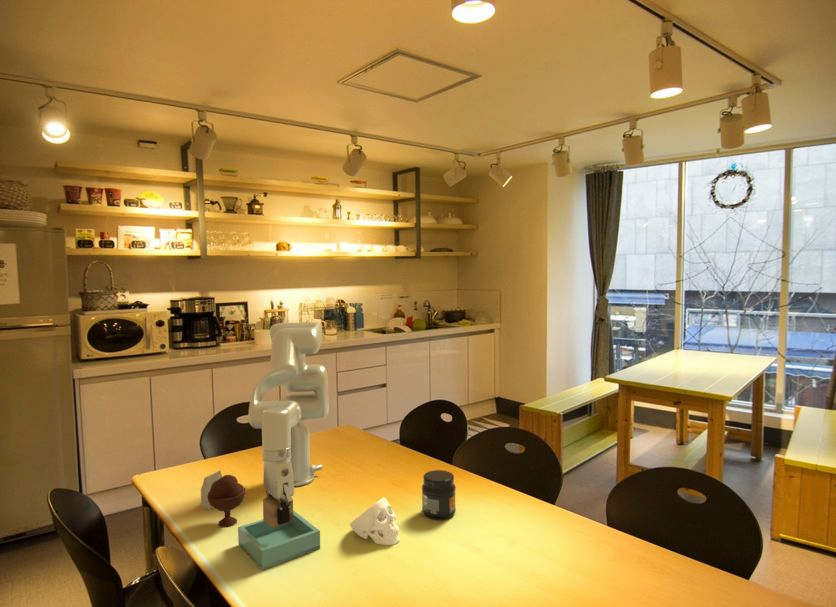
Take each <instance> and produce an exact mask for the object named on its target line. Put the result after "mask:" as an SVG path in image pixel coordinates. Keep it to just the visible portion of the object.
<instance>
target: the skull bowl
mask: <svg viewBox="0 0 836 607" xmlns="http://www.w3.org/2000/svg"><path fill="white" fill-rule="evenodd" d="M392 508H393V507H392V506H391V504H390V503H389V501H388V499H386V497H381V499H379V500H378V501H377V502H375V503H374V504H373V505H371V506H370V507H369V508H367V509H366V510H365V511H364V512H362V513H361V514H360V515H359V516H357V517H356V518H355V519H354V520H353V521H351V522H350V524H349V526H350V528H351V530H352V531H354V533H356V535H357V536H359V537H361V538H362V539H364V540H368V537H371V540H373V542H374V543H375V544H377V545H382V546H394V545H397V543H399V542H400V541H401V537H400V536H399V532H400V528H399V526H398V525H397V524H396V520H397V516H396V514H395V512H394V511H393V509H392ZM379 533H380V534H382V535H380V534H379Z"/></svg>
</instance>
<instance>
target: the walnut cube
mask: <svg viewBox="0 0 836 607" xmlns="http://www.w3.org/2000/svg"><path fill="white" fill-rule="evenodd" d="M281 497H284V494H283V495H281ZM284 501H285V499H282V500H281V503H283V502H284ZM278 509H279V507H278V501H277V499H276V498H274V497H273V496H271V497H267V498H266V497H264V498H262V520H264V521H265V522H266V523H267V524H268V525H269V526H271V527H272V528H274V527H277V526H280V525H284V524H287V523H290V522H293V510H294V499H293V498H292V502H291V504H290V508H289V515H290V521H289V522H286V523H283V524H280V525H279V524H278V517H277V510H278Z"/></svg>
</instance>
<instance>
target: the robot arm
mask: <svg viewBox="0 0 836 607" xmlns="http://www.w3.org/2000/svg"><path fill="white" fill-rule="evenodd" d="M323 334H324V333H323V328H322V326H321V324H320V323H319V322H279V323H275V324H272V325H271V326H270V328H269V336H270V339H271V342H272V343H271V344H272V345H271V354H270V363H269V369H268V371H267V372H265V373H264V374H263V375H262V376H261V377H260V378H259V379H258V381H257V382H256V383H255V384H254V386H253V388H252V390H251V394H250V400H249V406H248V422H249V424H250V426H251V427H252V428H253V429H261V442H262V444H261V446H262V449H261V450H262V461H263V489H264V490H265V492H266V497H265V498H267V497H271V496H273V497H274V498H276V499H277V501H278V507H279V509H278V510H277V517H278V524H279V525H280V524H283V523H286V522H289V521H290V515H289V508H290V504H291V502H292V499H293V496H294V495H295V487H302V486H305V485H308V484H311V483H312V482H313V481H314V480H315V472H317V471H323V465H322V464H318V465H317V464H316V463H315V464H311V460H310V459H311V453H310V452H311V450H310V449H311V445H310V430H309V428H308V426H307V425H306V424H305V423H304V421H313V420H314V421H315V420H323V419H326V418H327V417H328V414H329V413H330V412H329V411H330V410H329V409H330V404H329V403H330V397H329V395H330V394H329V377H328V376H329V374H328V371H327V368H326V367H325V366H324V365H323V364H307V361H306V357H307V356H306V355H312V354H313V355H315V354H317V353H318V352H319V350H320V347H321V345H322V342H323ZM281 385H282V388H283V389H284V390H285V391H287V392H289V393H288V394H285V395H283V396H282V397H281V398H280V400H264V401H262V399H263V398H264V396H265V395H266V394H267V393H268V392H270V391H271V390H273V389H275V388H277V387H280V386H281ZM292 392H293V393H292ZM283 494H284V497H281V495H283ZM282 499H285V501H284V502H283V503H281V500H282Z"/></svg>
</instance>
